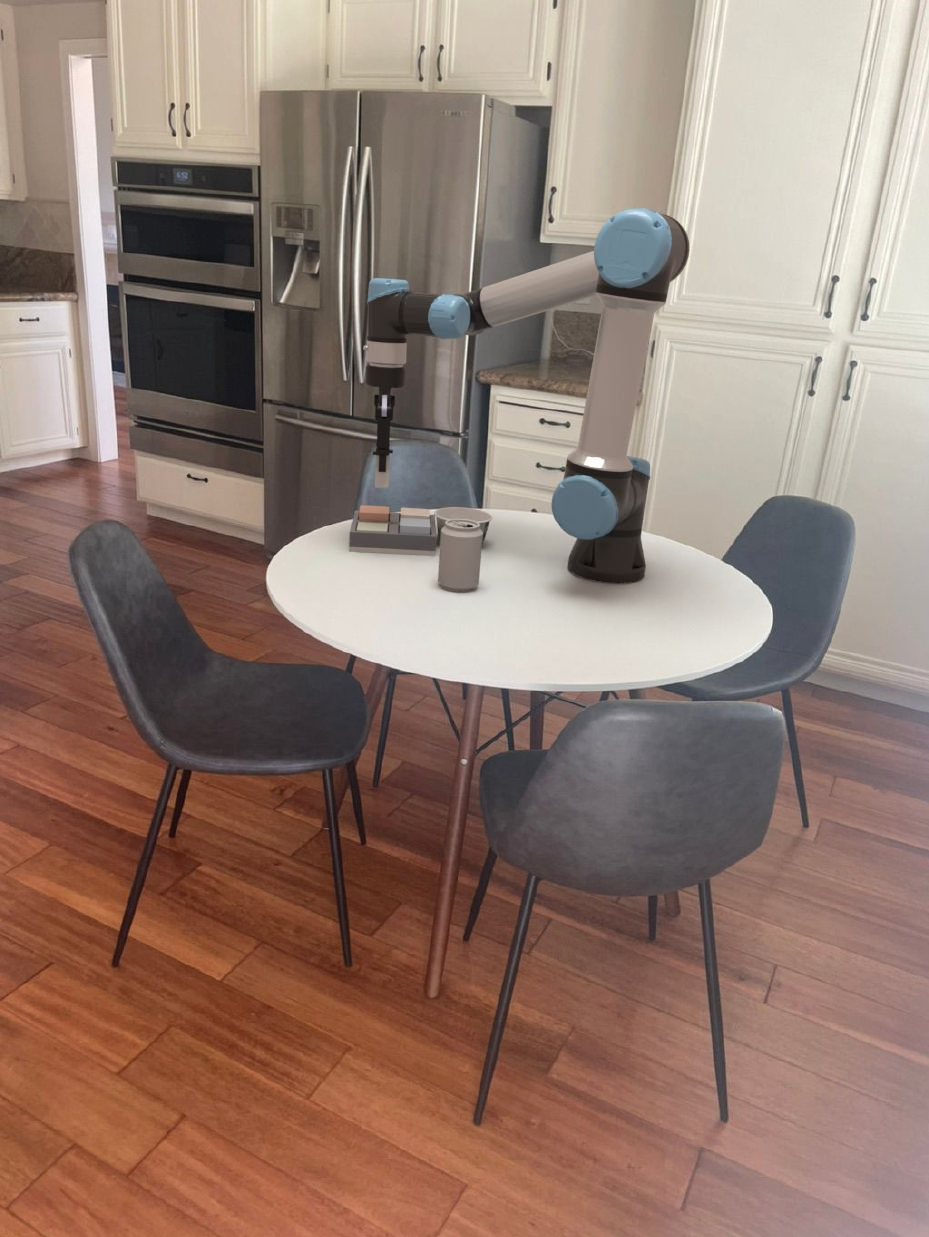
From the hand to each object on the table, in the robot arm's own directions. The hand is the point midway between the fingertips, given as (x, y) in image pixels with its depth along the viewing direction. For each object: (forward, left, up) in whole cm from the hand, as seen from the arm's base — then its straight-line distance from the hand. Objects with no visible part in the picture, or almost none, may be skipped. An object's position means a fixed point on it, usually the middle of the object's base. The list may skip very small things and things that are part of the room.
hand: (381, 486), depth 187 cm
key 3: (-7, +1, -9) cm, 11 cm away
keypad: (-3, -3, -12) cm, 13 cm away
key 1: (+1, +1, -11) cm, 11 cm away
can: (-15, +23, -12) cm, 30 cm away
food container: (-17, -4, -12) cm, 21 cm away
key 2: (+1, -7, -9) cm, 12 cm away
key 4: (-7, -7, -9) cm, 14 cm away
